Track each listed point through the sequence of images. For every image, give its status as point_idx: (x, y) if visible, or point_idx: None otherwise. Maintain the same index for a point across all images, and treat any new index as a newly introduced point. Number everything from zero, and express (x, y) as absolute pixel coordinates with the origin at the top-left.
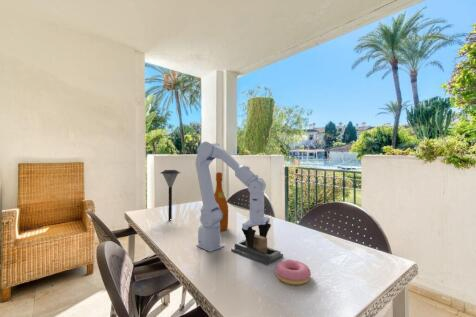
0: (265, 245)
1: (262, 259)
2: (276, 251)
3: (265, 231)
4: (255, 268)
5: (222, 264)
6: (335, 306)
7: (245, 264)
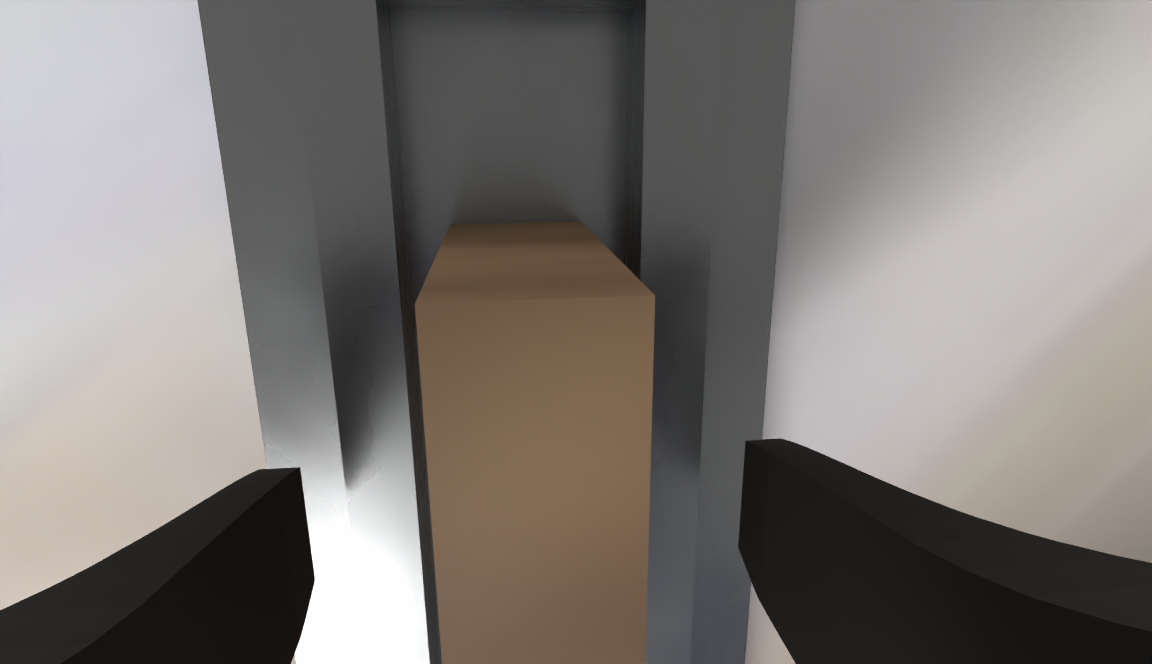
0: (516, 252)
1: (745, 106)
2: None
3: (131, 654)
4: (990, 42)
5: (1143, 478)
6: None
7: (966, 259)
